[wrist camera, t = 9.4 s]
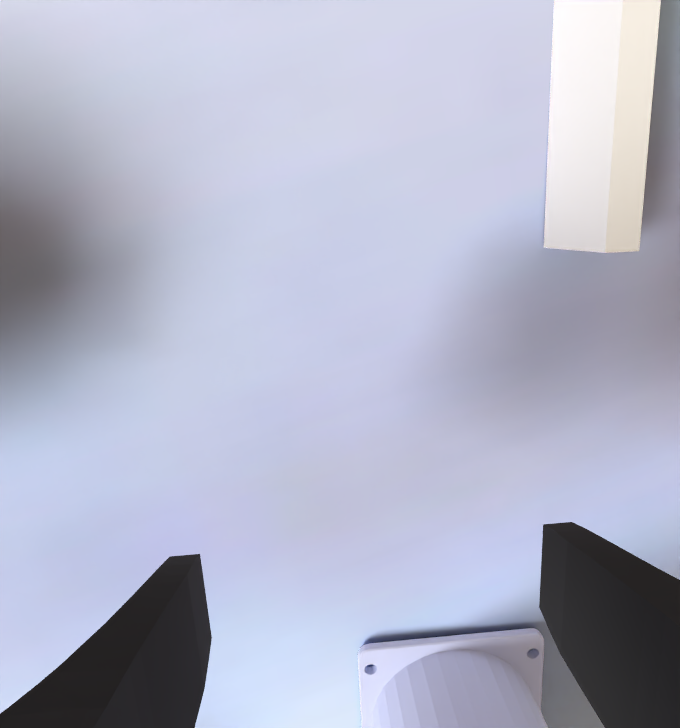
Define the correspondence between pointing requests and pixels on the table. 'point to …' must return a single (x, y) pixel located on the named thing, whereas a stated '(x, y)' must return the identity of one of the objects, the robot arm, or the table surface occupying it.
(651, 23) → the bin
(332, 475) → the table surface
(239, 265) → the table surface
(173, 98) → the table surface
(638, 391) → the table surface
